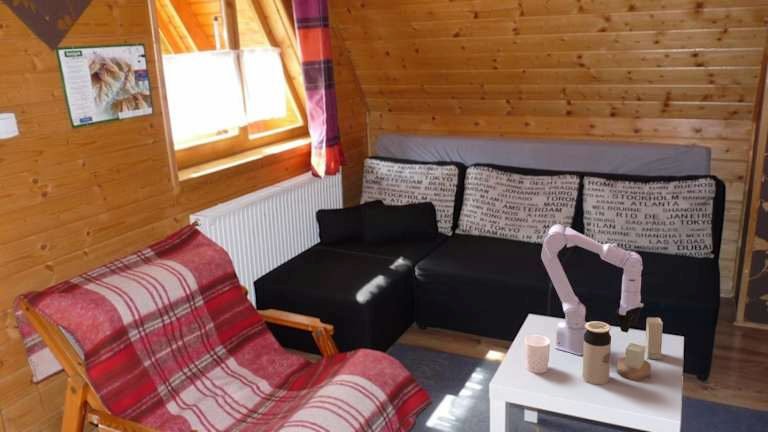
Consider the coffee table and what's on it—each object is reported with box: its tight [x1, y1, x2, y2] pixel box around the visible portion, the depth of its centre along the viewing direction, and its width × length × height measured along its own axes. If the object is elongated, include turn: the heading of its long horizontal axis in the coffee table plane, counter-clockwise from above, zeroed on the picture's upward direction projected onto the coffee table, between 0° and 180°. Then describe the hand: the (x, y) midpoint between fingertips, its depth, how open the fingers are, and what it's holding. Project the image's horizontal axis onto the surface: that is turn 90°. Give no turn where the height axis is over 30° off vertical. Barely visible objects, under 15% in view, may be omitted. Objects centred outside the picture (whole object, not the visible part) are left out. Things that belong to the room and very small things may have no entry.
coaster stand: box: [616, 356, 652, 382], centre depth 203 cm, size 10×10×3 cm
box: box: [644, 316, 664, 360], centre depth 212 cm, size 5×4×13 cm
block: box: [624, 342, 646, 369], centre depth 202 cm, size 4×4×6 cm
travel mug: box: [581, 320, 612, 385], centre depth 199 cm, size 8×8×18 cm
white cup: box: [524, 334, 551, 374], centre depth 208 cm, size 8×8×10 cm
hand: (628, 327), depth 213 cm, fingers open, 7 cm apart
